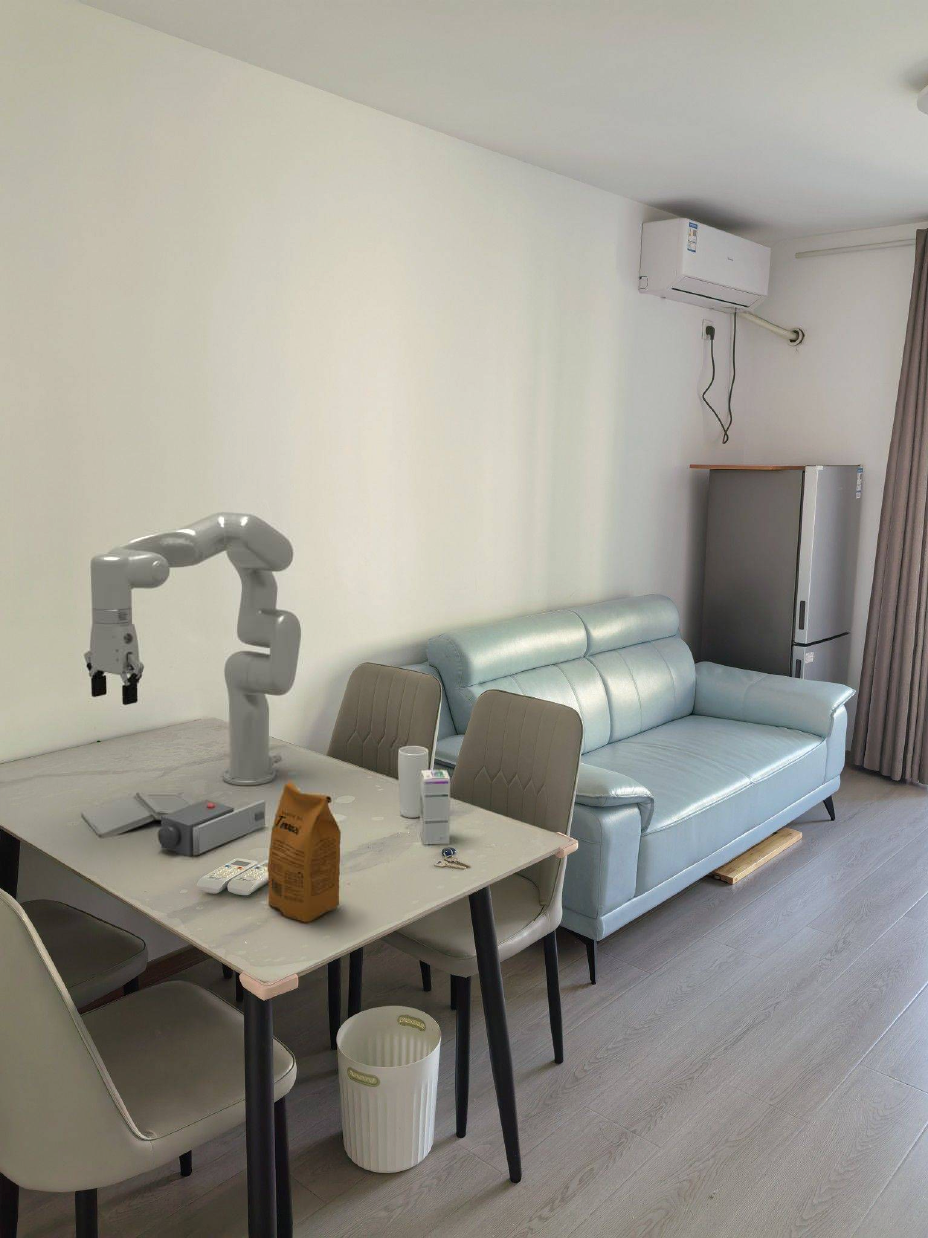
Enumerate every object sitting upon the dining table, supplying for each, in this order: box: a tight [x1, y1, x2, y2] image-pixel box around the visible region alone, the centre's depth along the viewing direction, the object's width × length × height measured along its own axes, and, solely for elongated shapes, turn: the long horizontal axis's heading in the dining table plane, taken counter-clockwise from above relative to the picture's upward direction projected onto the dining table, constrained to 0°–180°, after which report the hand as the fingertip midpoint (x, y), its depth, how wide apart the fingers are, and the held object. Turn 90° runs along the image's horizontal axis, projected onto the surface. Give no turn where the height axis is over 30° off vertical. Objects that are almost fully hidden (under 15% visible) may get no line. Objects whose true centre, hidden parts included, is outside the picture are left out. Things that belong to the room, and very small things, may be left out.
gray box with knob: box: [157, 799, 235, 857], centre depth 194 cm, size 14×8×7 cm, turn 148°
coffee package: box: [267, 780, 342, 923], centre depth 167 cm, size 10×12×22 cm
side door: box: [192, 799, 266, 856], centre depth 196 cm, size 20×2×6 cm, turn 148°
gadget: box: [80, 792, 197, 839], centre depth 208 cm, size 23×15×4 cm, turn 126°
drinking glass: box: [397, 745, 429, 819], centre depth 214 cm, size 7×7×15 cm
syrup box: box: [419, 769, 451, 846], centre depth 200 cm, size 6×6×14 cm
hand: (114, 699), depth 193 cm, fingers open, 9 cm apart
